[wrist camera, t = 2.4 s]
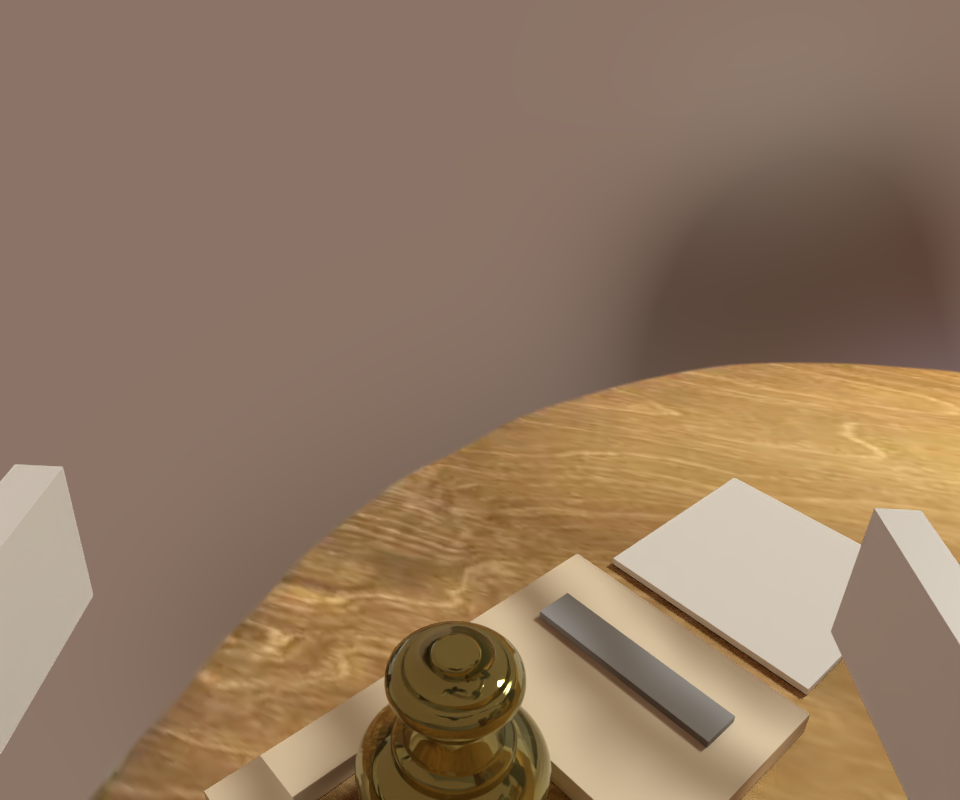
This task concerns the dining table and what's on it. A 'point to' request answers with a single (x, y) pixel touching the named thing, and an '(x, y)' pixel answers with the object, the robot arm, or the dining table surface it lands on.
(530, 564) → the dining table surface
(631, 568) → the mat
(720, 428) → the dining table surface
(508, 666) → the brass bell weight
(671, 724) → the light wooden flat frame
